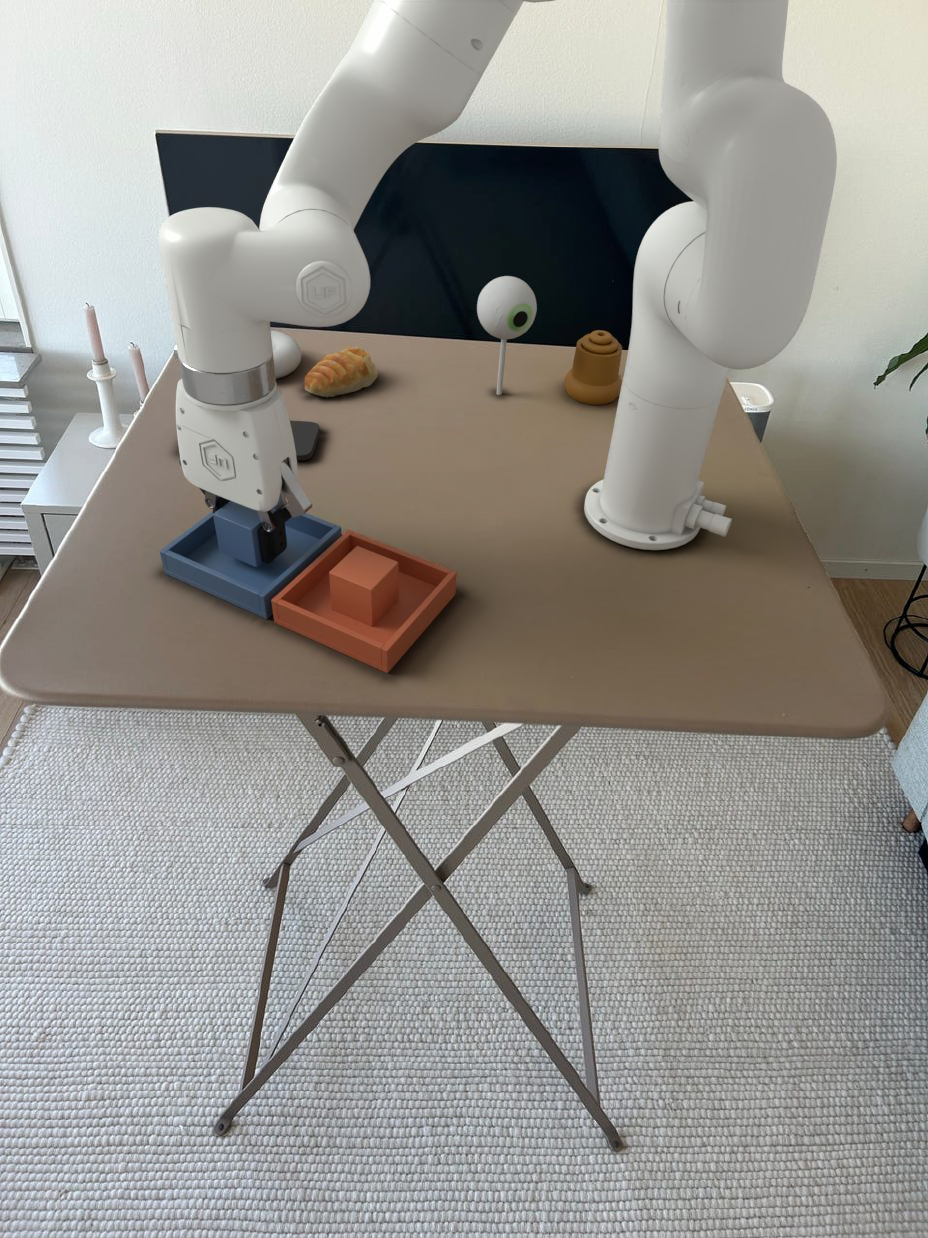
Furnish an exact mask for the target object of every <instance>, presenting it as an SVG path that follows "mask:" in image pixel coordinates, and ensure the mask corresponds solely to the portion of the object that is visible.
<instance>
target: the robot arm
mask: <svg viewBox="0 0 928 1238" xmlns="http://www.w3.org/2000/svg"><path fill="white" fill-rule="evenodd" d="M554 1H555V0H373V2H372V4H371V6H370V8H369V10H368V12H367V14H366V16H365V18H364V20H363V22H362V24H361V26H360V28H359V30H358V31H357V34H356V36H355V38H354V40H353V42H352V44H351V46H350V48H349V49H348V51H347V52H346V54H345V55H344V56H343V57H342V59H341V61H340V62H339V63H338V64H337V66H336V67H335V69H334V70H333V72H332V75H331V76H330V78H329V79H328V81H327V83H326V84H325V86H324V88H323V89H322V90H321V92H320V93H319V95H318V96H317V97H316V99H315V100H314V102H313V104H312V105H311V107H310V108H309V110H308V111H307V114H306V115H305V117H304V118H303V121H302V122H301V124H300V126H299V127H298V129H297V131H296V134H295V136H294V137H293V140H292V142H291V144H290V145H289V147H288V150H287V152H286V154H285V157H284V159H283V161H282V162H281V165H280V167H279V169H278V172H277V173H276V176H275V177H274V180H273V183H272V184H271V187H270V189H269V191H268V193H267V195H266V196H267V197H266V198H265V201H264V204H263V207H262V210H261V214H260V220H259V226H257V225H256V223H255V222H254V221H253V219H252V218H250V217H248V215H245V214H244V213H242V212H240V211H237V210H234V209H229V208H223V207H213V206H211V207H210V206H207V207H195V208H189V209H188V208H187V209H184V210H180V211H178V212H175V213H173V214H172V215H169V217H167V218H166V219H165V220H164V221H163V222H162V224H161V226H160V227H159V230H158V234H157V235H158V237H157V241H158V242H157V243H158V252H159V258H160V263H161V270H162V274H163V280H164V286H165V291H166V297H167V302H168V307H169V313H170V319H171V324H172V329H173V334H174V335H173V336H174V340H175V346H174V349H173V355H174V357H175V358H176V359H178V363H179V370H180V375H181V378H180V379H179V380H178V382H177V385H176V394H175V425H176V437H177V445H178V453H179V459H178V464H179V465H180V467H181V469H182V473H183V476H184V478H185V479H186V481H187V482H189V483H190V484H192V485H193V486H195V487H197V488H198V489H199V490H200V491H201V493H202V494H203V495H204V503H205V505H206V506H207V507H208V508H209V509H211V510H212V511H211V512H213V514H214V513H215V512H216V511H218V510H219V509H220V508H222V507H223V506H224V505H226V504H227V503H228V502H230V501H233V502H235V503H238V504H241V505H243V506H246V507H248V508H251V509H254V510H257V512H258V515H259V518H260V521H261V524H262V527H261V528H259V530H258V536H259V544H260V552H261V559H262V562H264V563H266V564H269V563H270V562H272V561H273V560H274V559H275V558H276V557H277V556H278V555H280V554H281V553H282V552H284V551H285V549H286V548H287V538H286V528H285V522H286V521H288V520H289V519H291V518H295V517H298V516H301V515H303V514H305V513H308V511H310V510H311V509H312V508H313V503H312V501H311V499H310V498H309V496H308V494H307V493H306V491H305V489H304V488H303V486H302V485H301V483H300V482H299V469H298V460H297V458H296V450H295V444H294V438H293V433H292V428H291V424H290V421H291V420H290V416H289V413H288V409H287V406H286V402H285V399H284V396H283V392H282V390H280V389H279V388H277V379H276V377H275V367H274V357H273V349H272V338H271V330H272V329H271V322H272V323H279V324H287V325H288V324H289V325H292V326H293V325H295V326H302V327H309V328H311V327H312V328H313V327H314V328H324V327H325V328H326V327H334V326H338V325H340V324H344V323H346V322H348V321H350V320H352V319H353V318H354V317H355V316H357V314H359V313H360V311H361V310H362V309H363V308H364V306H365V304H366V303H367V300H368V297H369V294H370V290H371V273H370V268H369V264H368V260H367V258H366V255H365V253H364V251H363V248H362V246H361V244H360V242H359V240H358V237H357V234H356V233H355V231H354V230H355V228H356V226H357V224H358V222H359V220H360V218H361V216H362V214H363V212H364V211H365V208H366V206H367V205H368V202H369V201H370V199H371V197H372V195H373V193H374V192H375V190H376V188H377V187H378V185H379V183H380V181H381V180H382V179H383V177H384V175H386V172H387V171H388V169H389V168H390V167H391V166H392V165H393V163H394V162H395V161H396V160H397V159H398V158H399V156H400V155H402V154H403V153H404V152H405V151H406V150H407V149H408V148H410V147H411V146H413V145H414V144H416V143H418V142H420V141H422V140H424V139H427V138H429V137H431V136H434V135H437V134H439V133H441V132H442V131H445V130H446V129H447V128H449V127H450V126H451V125H453V124H454V123H455V122H456V121H458V119H459V118H460V116H461V115H462V114H463V112H464V110H465V108H466V106H467V104H468V103H469V101H470V99H471V97H472V95H473V93H474V92H475V90H476V88H477V87H478V84H479V82H480V81H481V79H482V77H483V76H484V73H485V71H486V70H487V68H488V66H489V64H490V62H491V60H492V59H493V57H494V56H495V54H496V52H497V50H498V48H499V46H500V45H501V43H502V41H503V39H504V37H505V35H506V34H507V32H508V30H509V28H510V26H511V24H512V23H513V21H514V19H515V17H516V16H517V15H518V13H519V11H520V9H521V8H522V5H523V4H524V2H527V3H535V4H536V3H544V2H554ZM789 2H790V1H789V0H666V30H665V31H666V34H665V46H664V47H665V48H664V59H663V60H664V62H663V73H662V74H663V75H662V88H661V101H660V102H661V103H660V113H659V124H658V139H657V141H658V158H659V162H660V165H661V168H662V171H664V173H665V175H666V177H667V178H668V179H669V180H670V181H671V183H673V184H674V186H676V187H677V188H678V189H679V190H680V191H681V192H682V193H684V194H685V195H686V196H687V197H688V198H690V199H691V200H692V201H685V202H682V203H679V204H676V205H675V206H672V207H670V208H669V209H667V210H665V211H664V212H663V213H661V214H660V215H659V216H658V217H657V218H656V219H655V220H654V221H653V222H652V224H651V225H650V226H649V228H647V231H646V232H645V234H644V236H643V237H642V240H641V243H640V245H639V248H638V251H637V255H636V258H635V264H634V269H633V270H634V271H633V280H632V281H633V282H632V313H631V314H632V315H631V328H630V336H629V344H628V349H627V356H626V361H625V367H624V373H623V376H622V379H621V380H622V386H621V391H620V395H619V396H618V397H619V398H618V402H617V406H616V412H615V417H614V423H613V429H612V433H611V438H610V444H609V450H608V455H607V460H606V465H605V471H604V475H603V479H601V480H599V481H597V482H595V483H594V484H593V485H592V486H591V487H590V488H589V489H588V491H587V492H586V495H585V498H584V505H583V511H584V516H585V518H586V519H587V521H588V523H589V524H590V525H591V527H593V529H594V530H596V531H597V532H598V533H600V534H601V536H604V537H605V538H607V539H608V540H610V541H611V542H612V541H613V542H614V543H617V544H620V545H622V546H626V547H630V548H632V549H638V550H645V551H648V550H649V551H664V550H669V549H675V548H678V547H681V546H683V545H686V544H687V543H689V542H691V541H692V540H694V538H695V537H696V536H698V533H699V532H700V529H704V530H706V531H708V532H710V533H712V534H716V535H719V536H721V537H724V538H725V537H726V536H727V534H728V532H729V530H730V527H731V524H732V520H733V519H732V518H730V517H727V516H724V514H725V512H726V509H727V505H725V504H722V503H719V502H716V501H711V500H709V499H706V496H705V495H702V491H703V488H704V485H705V482H704V481H701V480H699V478H700V475H701V472H702V467H703V465H704V460H705V458H706V457H705V456H706V453H707V450H708V446H709V443H710V439H711V435H712V432H713V428H714V424H715V420H716V417H717V414H718V410H719V406H720V403H721V400H722V396H723V393H724V391H725V386H726V383H727V380H728V374H729V370H739V371H740V370H741V371H742V370H750V369H754V368H757V367H760V366H762V365H765V364H766V363H768V362H770V361H771V360H773V359H774V358H776V357H777V356H778V355H779V354H781V353H782V352H783V351H784V350H785V348H787V346H789V344H790V342H791V341H792V340H793V339H794V337H795V335H796V334H797V333H798V330H799V329H800V327H801V325H802V322H803V321H804V319H805V316H806V313H807V311H808V307H809V304H810V301H811V297H812V294H813V289H814V284H815V281H816V276H817V271H818V266H819V262H820V257H821V252H822V247H823V242H824V238H825V233H826V229H827V224H828V218H829V214H830V210H831V209H830V208H831V203H832V198H833V193H834V188H835V182H836V176H837V166H838V165H837V164H838V158H837V157H838V156H837V144H836V137H835V133H834V130H833V126H832V123H831V121H830V119H829V117H828V114H827V113H826V112H825V110H824V109H823V108H822V106H821V105H820V104H819V103H818V102H817V101H816V100H815V99H814V98H813V97H812V96H810V95H809V94H807V93H806V92H805V91H803V90H800V89H798V88H797V87H795V86H793V85H790V84H789V83H787V82H786V81H785V79H784V77H783V61H784V49H785V41H786V32H787V21H788V12H789ZM274 506H275V509H276V511H275V512H273V513H271V509H272V508H273V507H274ZM213 518H214V517H213ZM214 524H215V522H214ZM215 530H216V528H215ZM216 535H217V534H216ZM217 541H218V540H217Z"/></svg>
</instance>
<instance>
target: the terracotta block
mask: <svg viewBox="0 0 928 1238" xmlns="http://www.w3.org/2000/svg"><path fill="white" fill-rule="evenodd" d="M329 577H330V592H331V606H332V610H335V611H337V612H339V613H342V614H344V615H346V616H349V617H351V618H353V619H356V620H358V621H360V622H363V623H365V624H367V625H369V626H372V627H373V626H374V625H375V624H376V623H377V621H378V620H379V619H380V618H381V617H382V616H383V615H384V614H385V613H386V612H387V611H388V610H389V608H390V607H391V606H392V605H393V604H394V603H395V602H396V601H397V600H398V562H397V561H394V560H392V559H389V558H387V557H384V556H382V555H379V554H376V553H374V552H371V551H369V550H366V549H364V548H361V547H359V546H356V547H355V548H354V549H353V550H352V551H351V552H350V553H349V554H348V555H347V556H346V557H345V558H344V559H343V560H342V561H341V562H340V563H338V564H337V565H336V566H335V567H334V568H333V569H332V570H331V571H330V572H329Z"/></svg>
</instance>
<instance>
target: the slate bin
mask: <svg viewBox="0 0 928 1238" xmlns="http://www.w3.org/2000/svg"><path fill="white" fill-rule="evenodd" d="M285 528H286V538H287V548H286V549H285V551H284V552H282V553H281V554H280V555H278V556H277V557H276V558H275V559H274V560H273V561H272V562H270V563H269V564H266V563H264V562H263V563H262V564H260V565H259V566H258V567H254V566H252V565H250V564H247V563H245V562H243V561H240V560H238V559H236V558H233V557H231V556H229V555H226V554H224V553H222V552H220V551H219V545H218V541H217V535H216V530H215V524H214V518H213V512H212V511H210V512H209V513H208V514H207V515H205V516H204V517H203V518H201V519H200V520H199V521H198V522H196V523H195V524H193V525H192V526H191V527H189V528H188V529H187V530H185V531H184V532H183V533H182V534H180V535H179V536H177V538H175V539H174V540H172V541H171V542H170V543H168V544H167V545H166V546H165V547H162V549H160V550H159V555H160V560H161V563H162V568H163V571H164V575H167V576H169V577H171V578H174V579H176V580H178V581H180V582H182V583H185V584H187V585H189V586H192V587H194V588H196V589H198V590H201V591H203V592H205V593H207V594H210V595H212V596H214V597H216V598H219V599H220V600H223V601H225V602H227V603H230V604H232V605H234V606H236V607H238V608H241V609H243V610H244V611H247V612H250V613H252V614H254V615H256V616H259V617H261V618H263V619H265V620H268V619H269V618H270V617H272V616H273V609H272V602H271V600H272V599H273V598H274V597H275V596H276V595H278V594H279V593H280V592H281V591H282V590H283V589H284V588H285V587H286V586H287V585H288V584H290V583H291V582H292V581H293V580H294V579H295V578H296V577H297V576H298V575H299V574H300V573H302V572H303V571H304V570H305V569H306V568H307V567H308V566H309V565H310V564H311V563H313V562H314V561H315V560H316V559H317V558H318V557H319V556H320V555H321V554H322V553H323V552H325V551H326V550H327V549H328V548H329V547H330V546H331V545H332V544H333V543H334V542H335V541H337V540H338V539H339V538H340V537H341V536H342V535H343V533H342V526H341V525H336V524H335V523H333V522H330V521H327V520H325V519H322V518H320V517H317V516H315V515H312V514H310V513H308V512H306V513H305V514H303V515H301V516H298V517H295V518H291V519H289V520H288V521H286V522H285Z"/></svg>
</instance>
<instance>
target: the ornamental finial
mask: <svg viewBox="0 0 928 1238" xmlns="http://www.w3.org/2000/svg"><path fill="white" fill-rule="evenodd" d="M622 353H623V345H622V344H621V343H619V341H618V340H617V338H615V337H614V336H613V335H612V334H611V333H610V332H609V331H606V330H600V329H597V330H596V329H595V330H593V331H592V332H591V333H587V334H585V335H584V336H583V337H581V338H580V339H578V340H577V342H576V345H575V350H574V356H573V362H572V366H571V368H570V369H569V370H568V372H566V375H565V376H564V381H563V386H564V389H565V391H566V393H567V395H569V396H570V398H572V399H573V400H575V401H577V402H579V403H582V404H586V405H591V406H601V405H606V404H609V403H612V402H613V401H616V400H617V398H618V397H619V396H620V391H621V386H622V380H623V379H622V378H621V376H620V368H621V361H622V360H621V359H622Z"/></svg>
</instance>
